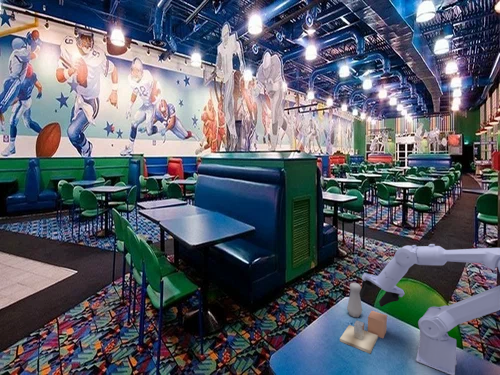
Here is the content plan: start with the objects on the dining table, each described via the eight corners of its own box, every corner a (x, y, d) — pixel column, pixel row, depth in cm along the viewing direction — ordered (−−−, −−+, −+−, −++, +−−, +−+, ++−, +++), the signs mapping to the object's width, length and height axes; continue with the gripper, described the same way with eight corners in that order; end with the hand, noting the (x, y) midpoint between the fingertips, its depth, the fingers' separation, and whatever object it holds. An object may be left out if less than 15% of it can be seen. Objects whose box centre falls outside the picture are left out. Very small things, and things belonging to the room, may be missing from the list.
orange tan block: (386, 331, 95) (386, 315, 95) (383, 338, 91) (383, 322, 91) (371, 325, 99) (371, 310, 98) (367, 332, 95) (368, 316, 94)
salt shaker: (364, 318, 103) (365, 287, 102) (350, 318, 104) (350, 287, 102) (358, 310, 109) (359, 280, 108) (345, 310, 109) (345, 280, 108)
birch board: (377, 337, 92) (377, 335, 92) (370, 353, 84) (370, 351, 84) (349, 327, 98) (349, 324, 98) (339, 341, 90) (339, 338, 90)
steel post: (363, 336, 91) (364, 322, 91) (361, 340, 89) (362, 326, 89) (356, 333, 93) (356, 320, 92) (354, 337, 91) (354, 323, 90)
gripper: (408, 275, 92) (386, 299, 98) (369, 258, 93) (350, 283, 99) (414, 290, 85) (391, 315, 92) (373, 271, 87) (352, 297, 93)
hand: (370, 299), depth 95 cm, fingers open, 7 cm apart
